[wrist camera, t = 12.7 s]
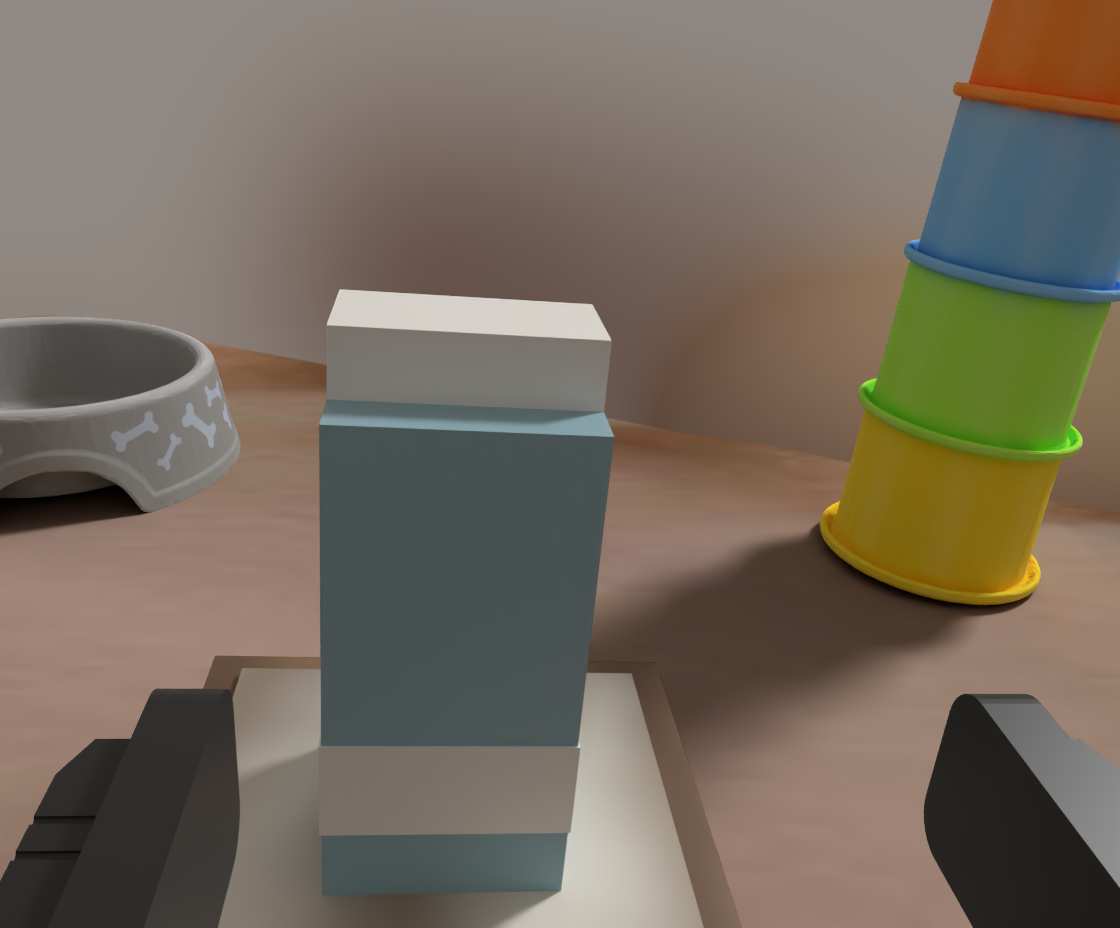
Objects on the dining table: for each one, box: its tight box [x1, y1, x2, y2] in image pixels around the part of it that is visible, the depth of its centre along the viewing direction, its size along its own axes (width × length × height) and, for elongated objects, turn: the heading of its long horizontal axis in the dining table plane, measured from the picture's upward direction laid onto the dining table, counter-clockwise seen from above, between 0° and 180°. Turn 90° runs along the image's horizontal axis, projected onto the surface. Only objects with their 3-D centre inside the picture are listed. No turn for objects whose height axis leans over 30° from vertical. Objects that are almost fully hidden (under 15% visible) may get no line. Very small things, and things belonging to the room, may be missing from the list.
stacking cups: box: [820, 0, 1120, 605], centre depth 43 cm, size 10×10×35 cm
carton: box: [318, 289, 614, 895], centre depth 23 cm, size 6×6×13 cm
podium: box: [203, 656, 742, 928], centre depth 27 cm, size 14×14×3 cm
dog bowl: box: [0, 317, 240, 513], centre depth 51 cm, size 17×18×5 cm
